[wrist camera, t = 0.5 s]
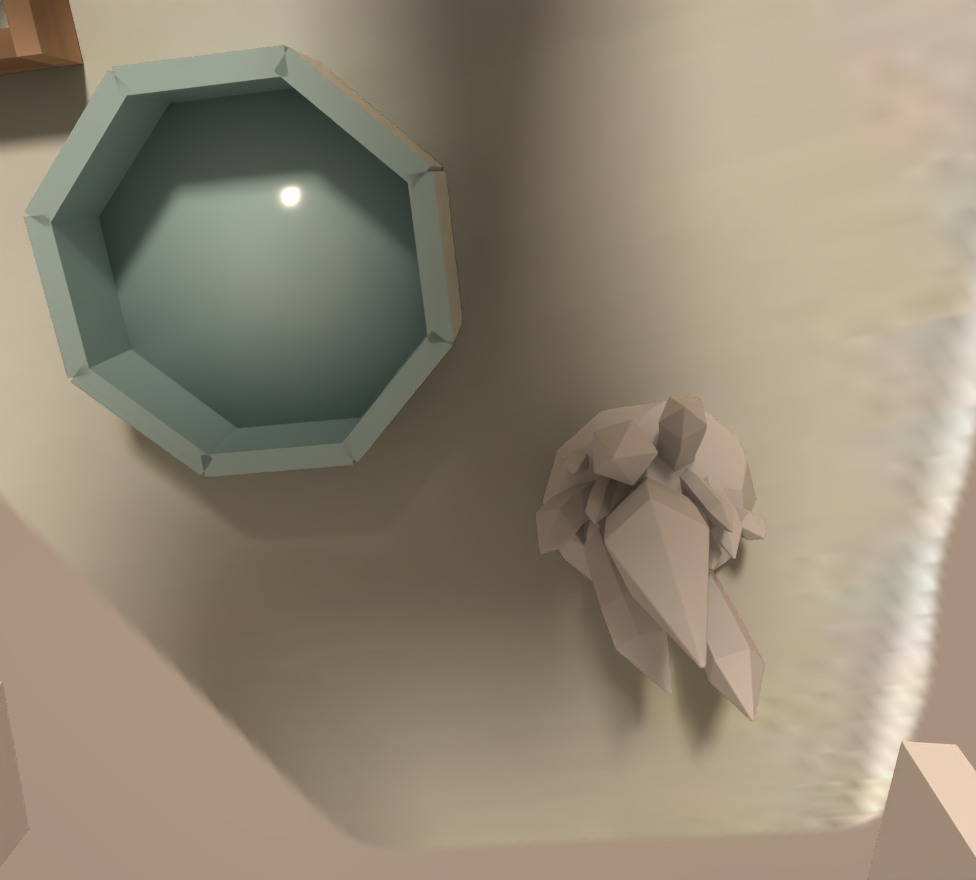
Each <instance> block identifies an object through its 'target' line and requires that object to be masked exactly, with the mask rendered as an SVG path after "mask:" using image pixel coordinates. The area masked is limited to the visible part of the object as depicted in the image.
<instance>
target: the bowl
mask: <svg viewBox="0 0 976 880" xmlns="http://www.w3.org/2000/svg"><path fill="white" fill-rule="evenodd" d="M112 69H113V71H110V70H107V72H106V74H105V75H104V77H103V79H102V80H101V82H100V84H99V86H98V87H97V89H96V91H95V92H94V94H93V96H92V98H91V99H90V101H89V103H88V104H87V106H86V108H85V109H84V111H83V113H82V115H81V116H80V118H79V120H78V121H77V123H76V125H75V127H74V128H73V130H72V132H71V133H70V135H69V137H68V138H67V140H66V142H65V144H64V145H63V147H62V149H61V150H60V152H59V154H58V156H57V157H56V159H55V161H54V162H53V164H52V166H51V167H50V169H49V171H48V173H47V174H46V176H45V178H44V179H43V181H42V183H41V184H40V186H39V188H38V190H37V191H36V193H35V195H34V196H33V198H32V200H31V202H30V203H29V205H28V207H27V208H26V210H25V212H26V213H27V214H28V215H30V216H28V217H24V219H25V223H26V227H27V230H28V234H29V238H30V241H31V245H32V249H33V252H34V256H35V260H36V264H37V267H38V271H39V275H40V278H41V282H42V286H43V289H44V293H45V297H46V300H47V304H48V308H49V311H50V315H51V319H52V322H53V326H54V330H55V333H56V337H57V341H58V345H59V348H60V352H61V356H62V359H63V363H64V367H65V370H66V374H67V378H70V377H74V378H73V379H72V381H71V383H73V384H74V385H75V386H77V387H78V388H80V389H81V390H82V391H84V392H85V393H86V394H88V395H89V396H91V397H92V398H93V399H95V400H96V401H98V402H99V403H100V404H102V405H103V406H104V407H106V408H107V409H109V410H110V411H111V412H113V413H114V414H116V415H117V416H118V417H120V418H121V419H122V420H124V421H125V422H127V423H128V424H129V425H131V426H132V427H133V428H135V429H136V430H138V431H139V432H140V433H142V434H143V435H145V436H146V437H147V438H149V439H150V440H151V441H153V442H154V443H156V444H157V445H158V446H160V447H161V448H163V449H164V450H165V451H167V452H168V453H169V454H171V455H172V456H174V457H175V458H176V459H178V460H179V461H181V462H182V463H183V464H185V465H186V466H187V467H189V468H190V469H192V470H193V471H194V472H196V473H197V474H198V475H200V476H201V475H202V474H203V473H204V474H205V477H216V476H228V475H240V474H252V473H264V472H276V471H288V470H300V469H312V468H324V467H336V466H348V465H354V463H355V462H357V463H358V462H359V460H360V459H361V458H362V457H363V455H364V454H365V453H366V452H367V450H368V449H369V448H370V447H371V446H372V444H373V443H374V442H375V441H376V439H377V438H378V437H379V436H380V434H381V433H382V432H383V431H384V430H385V428H386V427H387V426H388V425H389V423H390V422H391V421H392V420H393V418H394V417H395V416H396V415H397V413H398V412H399V411H400V410H401V409H402V407H403V406H404V405H405V404H406V402H407V401H408V400H409V399H410V397H411V396H412V395H413V394H414V393H415V391H416V390H417V389H418V388H419V386H420V385H421V384H422V383H423V381H424V380H425V379H426V378H427V376H428V375H429V374H430V373H431V372H432V370H433V369H434V368H435V367H436V365H437V364H438V363H439V362H440V360H441V359H442V358H443V357H444V355H445V354H446V353H447V352H448V351H449V349H450V348H451V347H452V345H453V343H454V341H455V339H456V336H457V334H458V332H459V330H460V328H461V324H462V322H463V319H462V311H461V302H460V293H459V285H458V276H457V267H456V259H455V250H454V241H453V233H452V224H451V215H450V207H449V198H448V189H447V181H446V172H445V171H440V170H441V169H442V167H443V166H441V165H440V164H439V163H438V162H437V161H435V160H434V159H433V158H432V157H431V156H430V155H428V154H427V153H426V152H425V151H424V150H422V149H421V148H420V147H419V146H418V145H417V144H415V143H414V142H413V141H412V140H411V139H409V138H408V137H407V136H406V135H405V134H403V133H402V132H401V131H400V130H399V129H398V128H396V127H395V126H394V125H393V124H392V123H390V122H389V121H388V120H387V119H386V118H385V117H383V116H382V115H381V114H380V113H379V112H377V111H376V110H375V109H374V108H373V107H372V106H370V105H369V104H368V103H367V102H366V101H364V100H363V99H362V98H361V97H360V96H359V95H357V94H356V93H355V92H354V91H353V90H351V89H350V88H349V87H348V86H347V85H345V84H344V83H343V82H342V81H341V80H340V79H338V78H337V77H336V76H335V75H334V74H332V73H331V72H330V71H329V70H328V69H327V68H325V67H324V66H323V65H322V64H321V63H319V62H317V61H315V60H313V59H311V58H309V57H307V56H305V55H304V54H302V53H300V52H298V51H296V50H294V49H292V48H290V47H289V48H288V47H286V46H284V45H281V46H273V47H265V48H257V49H249V50H241V51H233V52H225V53H218V54H210V55H202V56H194V57H186V58H178V59H170V60H162V61H154V62H146V63H139V64H131V65H123V66H115V67H112Z"/></svg>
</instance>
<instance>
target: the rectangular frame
mask: <svg viewBox="0 0 976 880" xmlns="http://www.w3.org/2000/svg"><path fill="white" fill-rule="evenodd" d="M2 1H3V5H4V8H5V12H6V16H7V20H8V24H9V28H5V29H0V74H6V73H13V72H21V71H29V70H37V69H45V68H53V67H61V66H69V65H76V64H83V61H82V57H81V52H80V48H79V44H78V40H77V35H76V31H75V27H74V23H73V19H72V14H71V10H70V6H69V2H68V0H2Z"/></svg>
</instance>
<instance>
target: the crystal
mask: <svg viewBox="0 0 976 880" xmlns="http://www.w3.org/2000/svg"><path fill="white" fill-rule="evenodd" d="M755 501H756V495H755V491H754V487H753V483H752V479H751V475H750V471H749V467H748V464H747V460H746V458H745V455H744V452H743V450H742V447H741V445H740V442H739V439H738V438H737V437H736V436H735V435H734V434H733V433H731V432H730V431H729V430H728V429H727V428H726V427H725V426H723V425H722V424H721V423H720V422H719V421H718V420H716V419H715V418H714V417H713V416H712V415H711V414H710V413H708V412H705V411H703V407H702V404H701V400H700V398H695V397H674V396H670V397H669V398H668V400H665V401H659V402H654V403H647V404H641V405H634V406H627V407H620V408H613V409H606V410H602V411H600V412H599V413H598V414H597V415H596V416H595V417H594V418H592V419H591V420H590V421H589V422H588V423H587V424H586V425H585V426H583V427H582V428H581V429H580V430H579V431H578V432H577V433H576V434H574V435H573V436H572V437H571V438H570V439H569V440H568V441H567V442H566V443H564V444H563V445H562V446H561V447H560V448H559V449H558V450H557V453H556V456H555V460H554V463H553V467H552V470H551V474H550V477H549V481H548V484H547V488H546V491H545V495H544V498H543V506H542V507H541V508H540V509H539V510H538V511H537V512H536V513H535V515H536V526H537V536H538V543H539V549H540V554H545V553H548V552H552V551H555V550H558V549H559V551H560V553H561V555H562V557H563V558H564V559H565V560H566V561H567V562H568V563H570V564H571V565H572V566H573V567H575V568H576V569H577V570H578V571H580V572H581V573H582V574H583V575H585V576H586V577H587V578H588V579H590V580H591V581H592V582H593V585H594V588H595V591H596V594H597V598H598V601H599V604H600V607H601V610H602V613H603V616H604V619H605V621H606V624H607V627H608V630H609V632H610V635H611V638H612V641H613V644H614V646H615V649H616V650H617V651H618V652H619V653H620V654H622V655H623V656H624V657H625V658H626V659H628V660H629V661H630V662H631V663H632V664H633V665H635V666H636V667H637V668H638V669H639V670H641V671H642V672H643V673H644V674H645V675H646V676H648V677H649V678H650V679H651V680H652V681H654V682H655V683H656V684H657V685H658V686H659V687H661V688H662V689H663V690H664V691H665V692H667V693H668V694H669V695H672V687H671V675H670V663H669V651H668V639H667V634H668V635H669V636H670V637H671V638H672V639H673V640H674V641H675V642H676V643H677V644H678V645H679V646H680V647H681V648H682V650H683V651H684V652H685V653H686V654H687V655H688V656H689V657H690V658H691V659H692V660H693V661H694V662H695V663H696V664H697V665H698V666H699V667H700V668H704V670H705V672H706V675H707V677H708V680H709V682H710V683H711V684H712V685H713V686H714V687H715V688H716V689H717V690H719V691H720V692H721V693H722V694H723V695H724V696H725V697H726V698H727V699H728V700H729V701H730V702H731V703H732V704H734V705H735V706H736V707H737V708H738V709H739V710H740V711H741V712H742V713H743V714H744V715H745V716H746V717H747V718H749V719H750V720H751V721H754V719H755V714H756V708H757V703H758V698H759V692H760V687H761V682H762V676H763V671H764V666H765V663H764V661H763V659H762V657H761V655H760V653H759V651H758V650H757V648H756V646H755V644H754V642H753V640H752V638H751V636H750V634H749V632H748V631H747V629H746V627H745V625H744V623H743V622H742V620H741V618H740V616H739V615H738V613H737V611H736V609H735V608H734V606H733V604H732V602H731V601H730V599H729V597H728V595H727V594H726V592H725V590H724V589H723V587H722V585H721V583H720V582H719V580H718V578H717V577H716V575H715V573H714V572H713V571H714V570H716V569H717V568H718V567H720V566H721V565H722V564H724V563H725V562H726V561H728V560H729V559H730V558H733V559H735V558H736V554H737V549H738V546H739V543H740V540H741V538H742V537H743V538H745V539H746V540H757V539H765V524H764V518H762V517H760V516H758V515H756V514H753V513H751V511H752V508H753V506H754V503H755Z"/></svg>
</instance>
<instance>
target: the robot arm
mask: <svg viewBox="0 0 976 880" xmlns="http://www.w3.org/2000/svg"><path fill="white" fill-rule="evenodd" d="M28 830H29V825H28V820H27V814H26V808H25V803H24V797H23V793H22V786H21V781H20V775H19V770H18V764H17V759H16V753H15V748H14V742H13V737H12V731H11V726H10V720H9V715H8V709H7V704H6V698H5V693H4V687H3V682H0V867H1V866H2V864H3V863H4V862H5V860H6V859H7V858H8V856H9V855H10V854H11V852H12V851H13V850H14V848H15V847H16V846H17V844H18V843H19V842H20V840H21V839H22V838H23V836H24V835H25V834H26V833H27V831H28ZM867 880H976V771H975V770H974V769H973V767H972V766H971V764H970V763H969V762H968V760H967V759H966V758H965V756H964V755H963V753H962V752H961V751H960V749H959V748H958V747H957V745H951V744H935V743H921V742H905V741H902V742H901V746H900V750H899V754H898V758H897V762H896V766H895V770H894V774H893V778H892V782H891V786H890V790H889V794H888V798H887V802H886V806H885V810H884V814H883V818H882V822H881V826H880V830H879V834H878V838H877V842H876V846H875V850H874V854H873V858H872V862H871V866H870V870H869V874H868V878H867Z"/></svg>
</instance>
